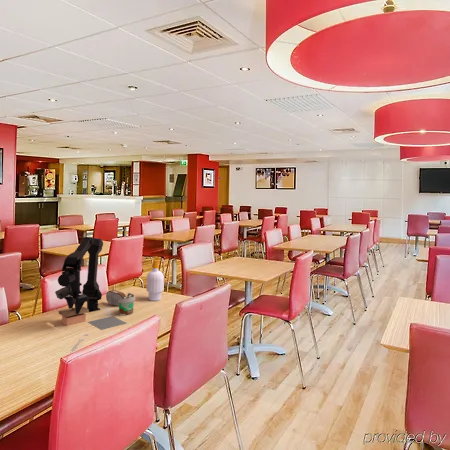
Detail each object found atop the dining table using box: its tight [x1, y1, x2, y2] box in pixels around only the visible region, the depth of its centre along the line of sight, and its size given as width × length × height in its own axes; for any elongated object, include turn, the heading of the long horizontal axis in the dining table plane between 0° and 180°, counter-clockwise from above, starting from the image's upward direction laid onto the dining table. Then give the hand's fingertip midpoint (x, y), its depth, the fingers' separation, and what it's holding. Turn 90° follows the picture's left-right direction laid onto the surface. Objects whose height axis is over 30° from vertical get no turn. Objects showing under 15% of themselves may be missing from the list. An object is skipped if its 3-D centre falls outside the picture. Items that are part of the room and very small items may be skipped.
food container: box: [118, 292, 136, 316], centre depth 212 cm, size 12×6×10 cm, turn 168°
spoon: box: [69, 333, 89, 354], centre depth 170 cm, size 4×21×2 cm, turn 179°
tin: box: [105, 289, 127, 307], centre depth 227 cm, size 15×3×8 cm, turn 58°
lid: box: [58, 305, 90, 317], centre depth 195 cm, size 7×12×2 cm, turn 136°
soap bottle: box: [146, 259, 165, 302], centre depth 240 cm, size 10×10×24 cm
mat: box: [87, 315, 128, 331], centre depth 197 cm, size 14×14×1 cm
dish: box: [61, 313, 87, 327], centre depth 196 cm, size 6×10×4 cm, turn 136°
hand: (73, 312), depth 196 cm, fingers closed on lid, 7 cm apart
